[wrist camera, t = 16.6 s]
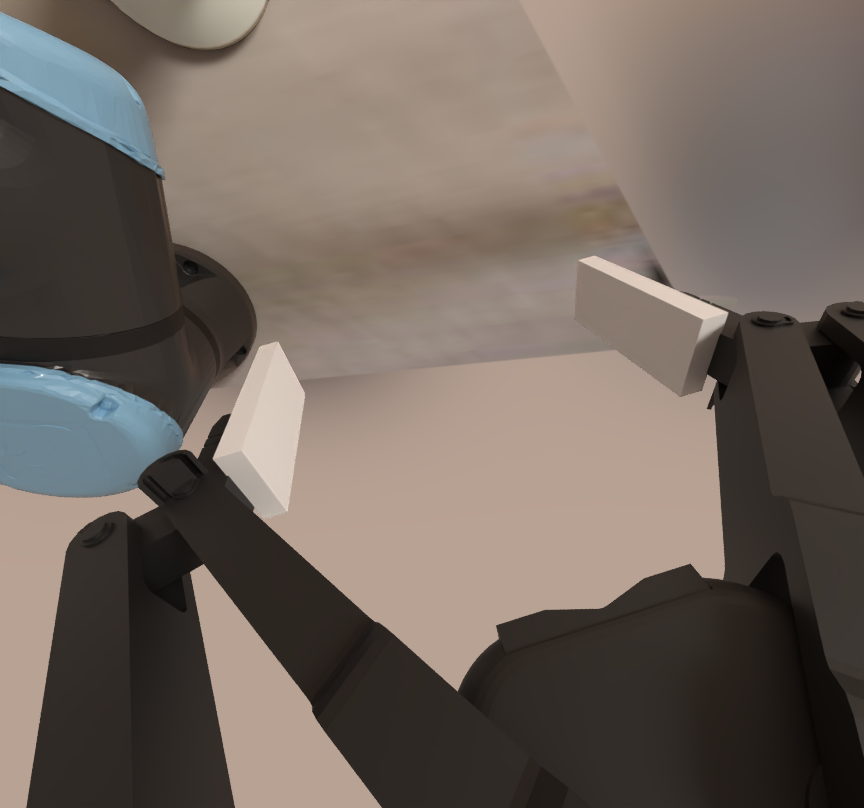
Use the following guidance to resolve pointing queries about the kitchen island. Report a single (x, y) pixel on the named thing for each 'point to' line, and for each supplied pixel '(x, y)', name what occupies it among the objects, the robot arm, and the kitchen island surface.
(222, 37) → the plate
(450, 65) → the kitchen island surface
